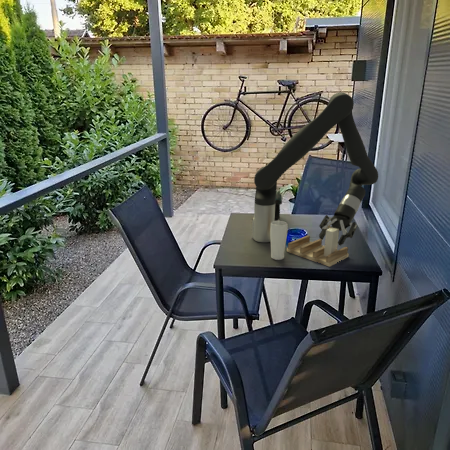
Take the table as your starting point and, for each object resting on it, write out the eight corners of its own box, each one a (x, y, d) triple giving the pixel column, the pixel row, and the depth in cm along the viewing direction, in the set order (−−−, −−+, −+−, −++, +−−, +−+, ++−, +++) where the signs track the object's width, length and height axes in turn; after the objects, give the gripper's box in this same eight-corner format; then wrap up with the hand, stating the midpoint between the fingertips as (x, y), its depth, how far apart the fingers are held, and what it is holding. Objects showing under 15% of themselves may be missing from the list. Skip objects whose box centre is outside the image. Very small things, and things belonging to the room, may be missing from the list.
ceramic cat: (281, 226, 198) (283, 187, 191) (268, 226, 198) (270, 187, 192) (277, 214, 217) (279, 179, 210) (265, 214, 217) (267, 179, 210)
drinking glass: (273, 262, 157) (274, 226, 152) (266, 255, 163) (267, 221, 158) (288, 260, 158) (290, 225, 154) (281, 253, 165) (283, 219, 160)
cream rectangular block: (323, 255, 159) (326, 230, 155) (330, 252, 162) (332, 227, 159) (330, 257, 157) (332, 232, 153) (336, 254, 160) (339, 229, 157)
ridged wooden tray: (286, 251, 167) (287, 242, 166) (306, 243, 176) (306, 234, 175) (329, 266, 152) (330, 257, 151) (348, 256, 162) (349, 247, 160)
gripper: (329, 199, 163) (311, 232, 159) (361, 207, 153) (342, 241, 149) (335, 209, 168) (317, 241, 164) (366, 217, 158) (348, 250, 154)
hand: (329, 241), depth 157 cm, fingers open, 8 cm apart
